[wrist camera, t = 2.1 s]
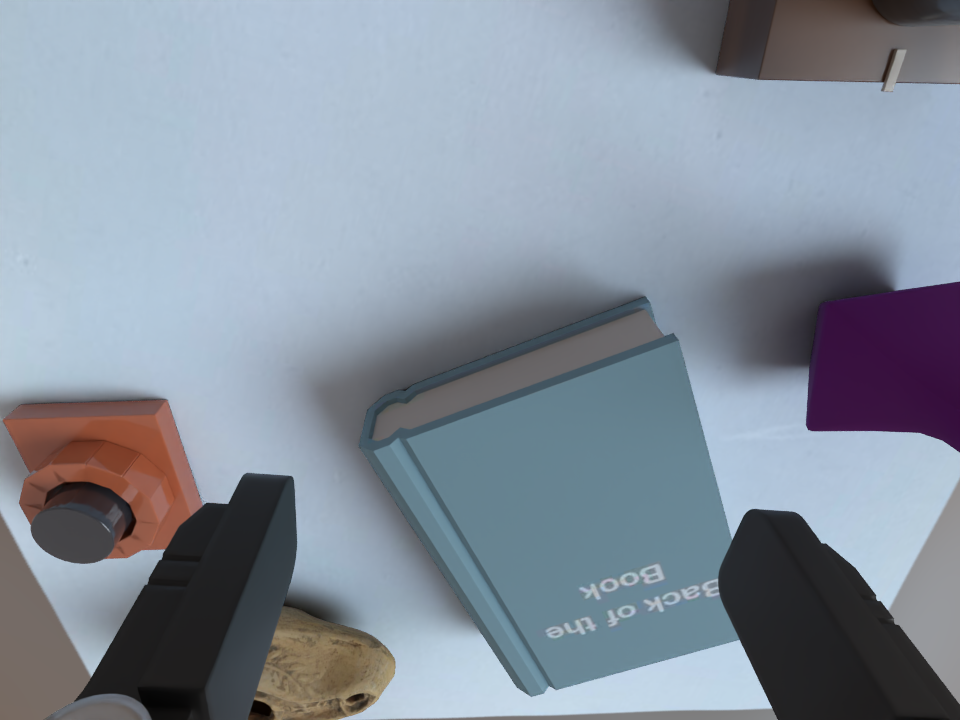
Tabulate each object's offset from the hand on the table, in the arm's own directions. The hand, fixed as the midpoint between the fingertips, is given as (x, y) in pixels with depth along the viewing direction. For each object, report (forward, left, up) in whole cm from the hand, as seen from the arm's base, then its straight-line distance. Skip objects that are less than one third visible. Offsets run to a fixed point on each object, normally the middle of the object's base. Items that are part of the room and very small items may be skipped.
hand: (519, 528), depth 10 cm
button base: (-8, -25, -20) cm, 33 cm away
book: (+15, -11, -20) cm, 27 cm away
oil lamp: (+7, -32, -20) cm, 38 cm away
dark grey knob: (-8, -25, -17) cm, 31 cm away
